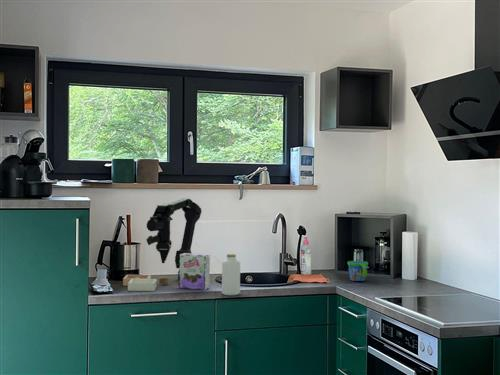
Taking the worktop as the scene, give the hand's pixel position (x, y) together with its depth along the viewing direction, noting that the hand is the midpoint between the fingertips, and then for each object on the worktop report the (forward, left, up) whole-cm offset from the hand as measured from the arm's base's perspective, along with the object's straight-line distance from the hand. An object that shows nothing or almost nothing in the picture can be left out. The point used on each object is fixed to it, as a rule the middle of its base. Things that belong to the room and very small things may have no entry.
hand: (163, 261), depth 295 cm
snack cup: (-100, -16, -12) cm, 102 cm away
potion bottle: (-32, +22, -12) cm, 41 cm away
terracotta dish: (+13, -2, -12) cm, 18 cm away
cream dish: (+9, +11, -12) cm, 18 cm away
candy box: (-15, +7, -12) cm, 20 cm away
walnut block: (0, 0, -12) cm, 12 cm away
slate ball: (+13, -2, -11) cm, 17 cm away
